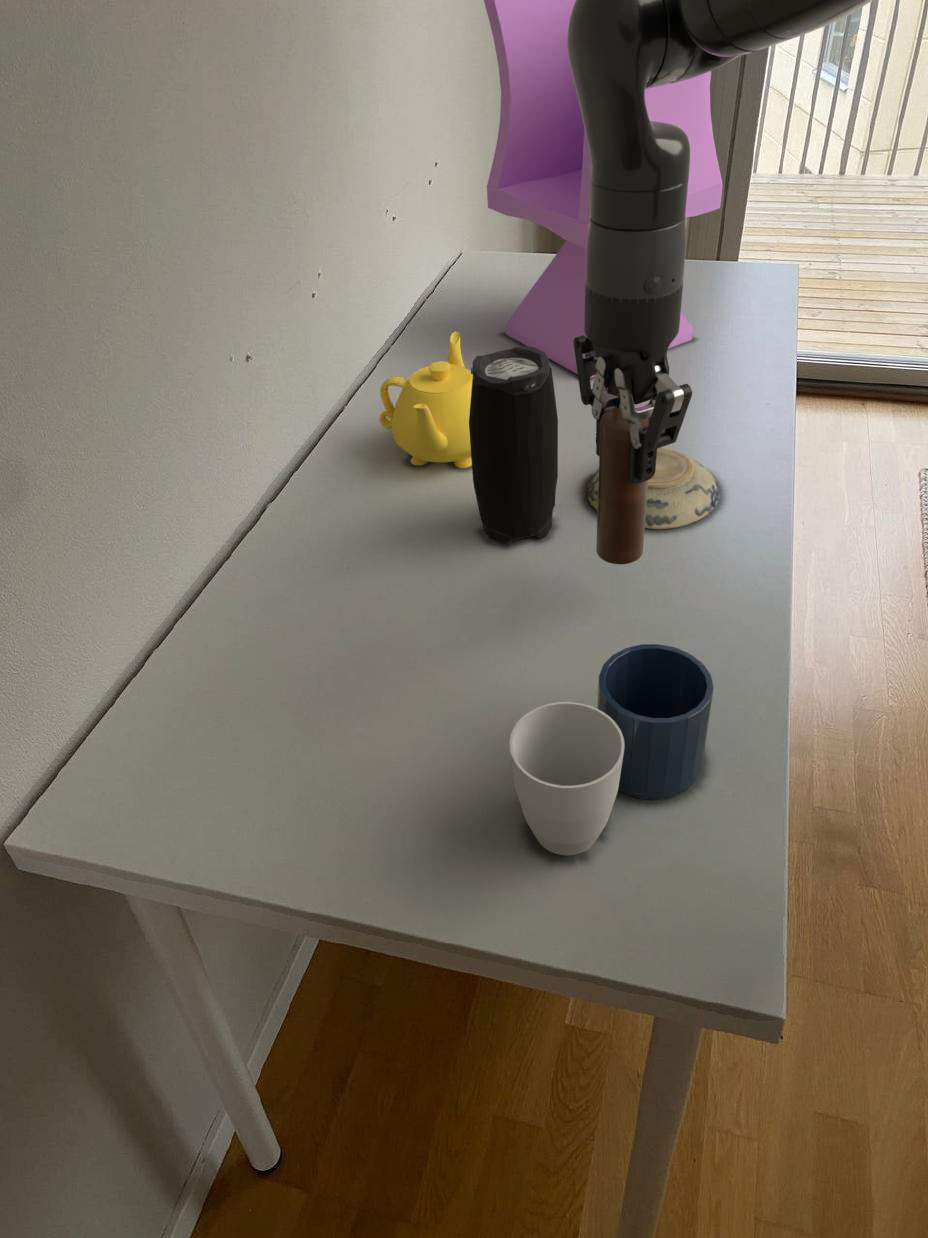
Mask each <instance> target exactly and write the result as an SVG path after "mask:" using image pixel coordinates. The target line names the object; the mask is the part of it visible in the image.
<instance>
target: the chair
mask: <svg viewBox="0 0 928 1238" xmlns="http://www.w3.org/2000/svg"><path fill="white" fill-rule="evenodd" d="M575 1H576V0H483V3H484V7H485V10H486V15H487V18H488V22H489V26H490V30H491V33H492V38H493V43H494V49H495V54H496V60H497V66H498V72H499V73H498V74H499V75H498V76H499V85H500V115H499V116H500V117H499V124H498V131H497V132H498V133H497V138H496V139H497V140H496V144H495V150H494V155H493V158H492V164H491V168H490V171H489V176H488V180H487V184H486V196H487V199H486V200H487V209H490V210H492V211H494V212H497V213H499V214H501V215H505V216H507V217H513V218H516V219H517V218H518V219H522V220H527V221H528V222H531V223H533V224H536V225H538V226H541V227H543V228H545V229H547V230H549V231H550V232H552V233H554V234H555V235H557V236H558V237H560V238H561V239H563V240H565V242H564V244H563V245H562V246H561V247H560V249H559V251H557V253H556V254H555V256H554V257H553V259H552V260H551V261H550V262H549V264H548V265H547V267H546V268H545V269H544V270H543V272H542V273H541V275H540V276H539V278H538V279H536V281H535V283H534V284H533V286H532V287H531V288H530V290H529V291H528V292H527V294H526V295H525V297H524V298H523V299H522V301H521V302H520V303H519V305H518V306H517V307H516V309H515V311H513V313H512V314H511V315H510V317H509V319H508V320H507V321H506V322H505V335H506V336H508V337H509V338H512V339H513V340H515V341H517V342H519V343H521V344H523V345H524V346H526V347H535V348H537V349H539V350H541V351H543V352H545V354H546V355H547V357H548V359H549V360H551V361H553V362H554V363H556V364H558V365H560V366H562V367H564V368H565V369H567V370H569V371H570V372H573V373H575V374H576V375H578V373H577V366H576V358H575V351H574V344H573V341H574V338H576V337H579V336H582V335H585V331H584V316H585V265H586V244H587V237H588V231H589V222H590V183H591V158H590V152H589V148H588V143H587V139H586V134H585V130H584V125H583V120H582V115H581V110H580V106H579V102H578V97H577V93H576V89H575V85H574V81H573V77H572V72H571V68H570V62H569V56H568V43H567V40H568V27H569V21H570V16H571V13H572V10H573V7H574V4H575ZM711 78H712V71H710V72H707V73H704V74H702V75H699V76H696V77H693V78H690V79H687V80H683V81H680V82H675V83H671V84H667V85H662V86H658V87H653V88H649V89H645V103H646V108H647V113H648V116H649V120H650V121H657V122H663V123H669V124H672V125H675V126H677V127H679V128H680V129H682V130H683V131H684V132H685V133H686V135H687V137H688V139H689V143H690V171H689V181H688V193H687V204H686V214H685V215H686V218H692V217H693V218H694V217H698V216H700V215H704V214H707V213H711V212H713V211H716V210H720V209H721V205H722V196H723V188H724V187H723V186H724V185H723V179H722V174H721V170H720V169H721V168H720V165H719V159H718V155H717V150H716V144H715V143H716V142H715V139H714V131H713V122H712V111H711ZM693 333H694V328H693V326H692V325H691V324H690V322H689V320H688V319H687V317H686V316H685V315H684V313H683V311H681V314H680V326H679V332H678V334H677V336H676V337H675V339H674V340H673V341H672V343H671V344H670V346H669V347H668V349H667V350H669V349H672V348H674V347H677V346H679V345H682V344H685V343H688V342H690V341H692V340H693ZM595 376H596V375H593V376H591V378H590V379H592V378H595Z"/></svg>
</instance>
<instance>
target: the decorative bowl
mask: <svg viewBox="0 0 928 1238" xmlns="http://www.w3.org/2000/svg"><path fill="white" fill-rule="evenodd" d="M655 467H656V470H655V474H654V476H653V477H652V478H651V479H650V480H648V489H647V503H646V516H645V529H650V530H670V529H677V528H683V527H685V526H688V525H691V524H694V523H696V522H698V521H700V520H702V519H704V518H705V517H706V516H708V515H709V514H710V513H712V511H714V509H715V508H716V507H717V504H718V503H719V501H720V488H719V485H718V482H717V481H716V479H715V478H714V476H713V475H712V473H711V472H710V470H709V469H708V468H706V467H705V466H704V465H703V464H702V463H701V462H699V461H697V460H696V459H694V458H692V457H691V456H689V455H686V454H683V453H681V452H679V451H677V450H673V449H670V448H666V447H661V448H658V449H657V458H656V466H655ZM598 482H599V469H598V470H597V471H596V472H595V473H594V475H593V476H592V477H591V478H590V479H589V481H588V483H587V486H586V489H585V490H586V492H587V494H586V495H587V500H588V502H589V504H590V505H591V506H592V507H593V508H594V509H595V510H596V512H598Z"/></svg>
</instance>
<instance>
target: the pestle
mask: <svg viewBox="0 0 928 1238" xmlns="http://www.w3.org/2000/svg"><path fill="white" fill-rule="evenodd" d="M636 408H637V407H635V409H636ZM641 424H642V432H643V431H646V430H647V428H648V425H649V421H648V418H646V419H643V420H642V422H641ZM631 444H632V443H631V438H630V430H629V423H628V421H625V420H624V419H623V417H622V409H621V408H615V409H611V410H609V411H607V412H605V413H604V414H603V415H602V417H601V421H600V451H599V456H598V470H599V482H598V511H596V512H597V516H596V518H597V519H596V545H595V552H596V554H597V556H598V557H599V558H600V559H601V560H602V561H604V562H606V563H609V564H613V565H627V564H632V563H634V562H636V561H638V560H639V559H640V558H641V557H642V556H643V553H644V542H645V530H646V528H645V516H646V503H647V489H648V480H647V481H644V482H641V483H639V484H634V483H632V482H631V481H630V480H629V479H628V473H629V455H630V445H631Z"/></svg>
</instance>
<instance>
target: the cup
mask: <svg viewBox="0 0 928 1238" xmlns="http://www.w3.org/2000/svg"><path fill="white" fill-rule="evenodd" d="M509 750H510V751H509V752H510V759H511V765H512V773H513V779H514V780H513V781H514V786H515V791H516V795H517V796H518V800H519V803H520V806H521V810H522V813H523V816H524V819H525V821H526V824H527V825H528V826H529V829H530V830H531V832H532V833H533V835H534V837H535V838H536V841H538V844H540V846H542V847H543V848H544V849H545V850H547V851H548V852H550V853H553V854H556V855H560V856H576V855H579V854H582V853H585V852H587V851H588V850H589V849H590V848H592V847H593V845H595V843H596V842H597V840H598V838H599V837H600V835H601V833H602V832H603V830H604V829H605V827H606V826H607V824H608V821H609V818H610V816H611V813H612V810H613V806H614V803H615V801H616V798H617V795H618V791H619V790H618V787H619V780H620V774H621V768H622V761H623V755H624V738H623V735H622V732H621V730H620V728H619V727H618V725H617V724H616V723H615V722H614V720H613V719H612V718H610V717H609V716H608V715H607V714H605V713H604V712H602V711H600V710H599V709H598V707H597V708H596V707H594V706H592V705H588V704H586V703H581V702H575V701H558V702H557V701H556V702H551V703H547V704H544V705H540V706H537V707H535V708H533V709H532V710H530V711H528V712H527V713H526V714H524V715H523V716H522V717H521V718H520V719H519V720H518V721H517V722H516V724H515V725H514V727H513V729H512V731H511V734H510V737H509Z"/></svg>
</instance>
